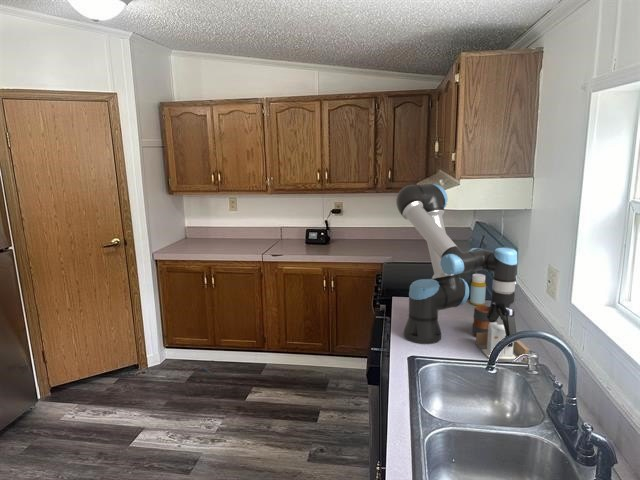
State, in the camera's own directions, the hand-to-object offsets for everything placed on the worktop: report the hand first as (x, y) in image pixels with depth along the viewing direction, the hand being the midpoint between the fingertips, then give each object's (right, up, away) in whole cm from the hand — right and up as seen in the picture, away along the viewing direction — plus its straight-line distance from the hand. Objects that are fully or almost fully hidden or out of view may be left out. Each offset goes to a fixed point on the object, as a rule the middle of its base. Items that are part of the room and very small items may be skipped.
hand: (499, 346), depth 158 cm
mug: (+2, 0, +21) cm, 21 cm away
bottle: (+13, +7, +58) cm, 60 cm away
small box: (0, -3, +1) cm, 3 cm away
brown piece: (+2, -3, +3) cm, 4 cm away
